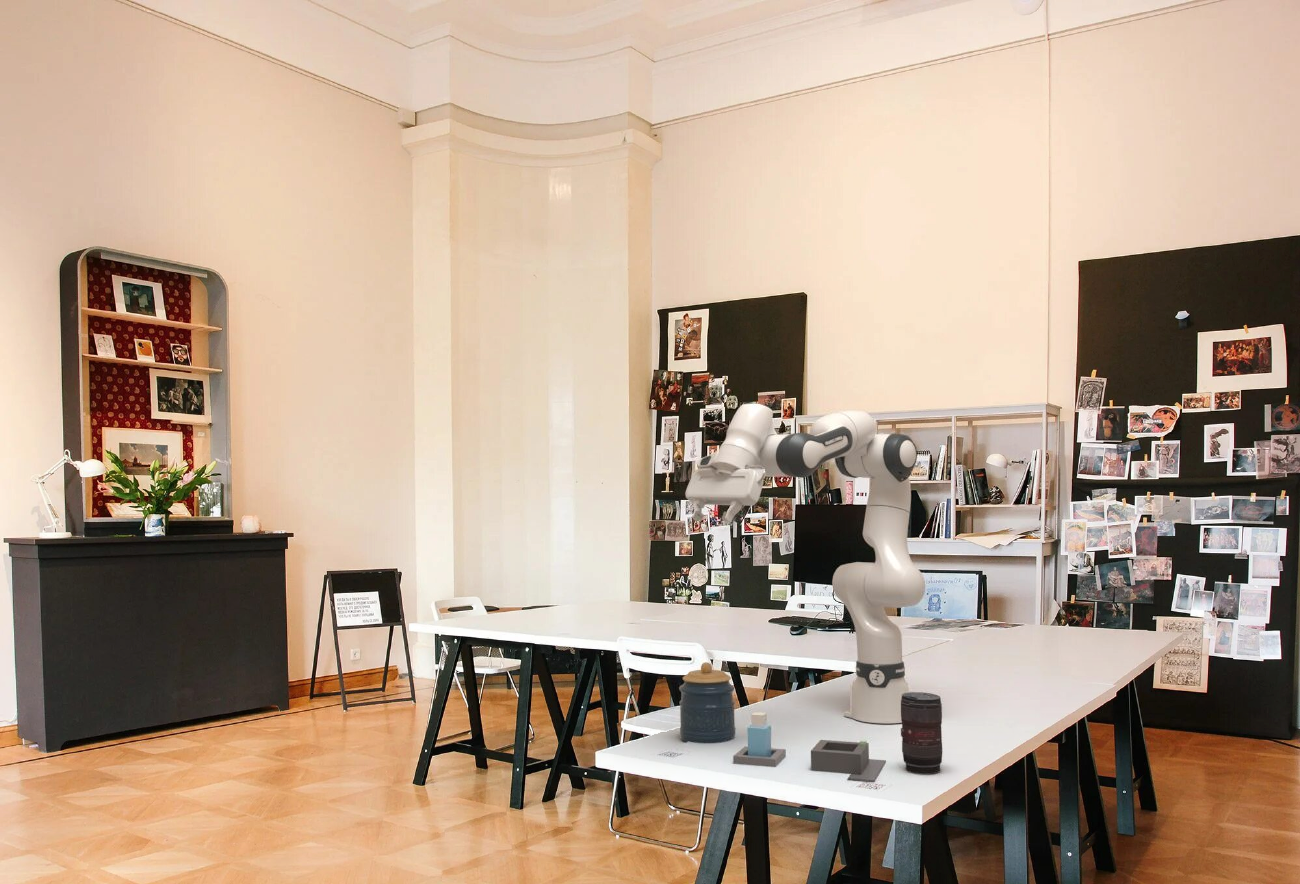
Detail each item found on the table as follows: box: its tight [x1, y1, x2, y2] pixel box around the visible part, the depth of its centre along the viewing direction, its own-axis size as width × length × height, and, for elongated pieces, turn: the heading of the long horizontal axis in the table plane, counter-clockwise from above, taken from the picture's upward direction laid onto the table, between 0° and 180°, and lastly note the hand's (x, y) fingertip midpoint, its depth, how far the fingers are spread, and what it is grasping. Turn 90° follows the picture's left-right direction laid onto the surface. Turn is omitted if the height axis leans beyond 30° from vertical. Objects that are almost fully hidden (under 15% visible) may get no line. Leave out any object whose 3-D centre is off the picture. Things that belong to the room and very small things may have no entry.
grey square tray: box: [732, 745, 787, 768], centre depth 210 cm, size 9×9×2 cm
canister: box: [678, 662, 737, 744], centre depth 233 cm, size 13×13×18 cm
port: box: [810, 739, 887, 783], centre depth 204 cm, size 16×16×5 cm
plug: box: [746, 711, 772, 757], centre depth 211 cm, size 4×4×10 cm
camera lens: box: [900, 691, 943, 775], centre depth 203 cm, size 8×8×15 cm
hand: (710, 520), depth 218 cm, fingers open, 8 cm apart
